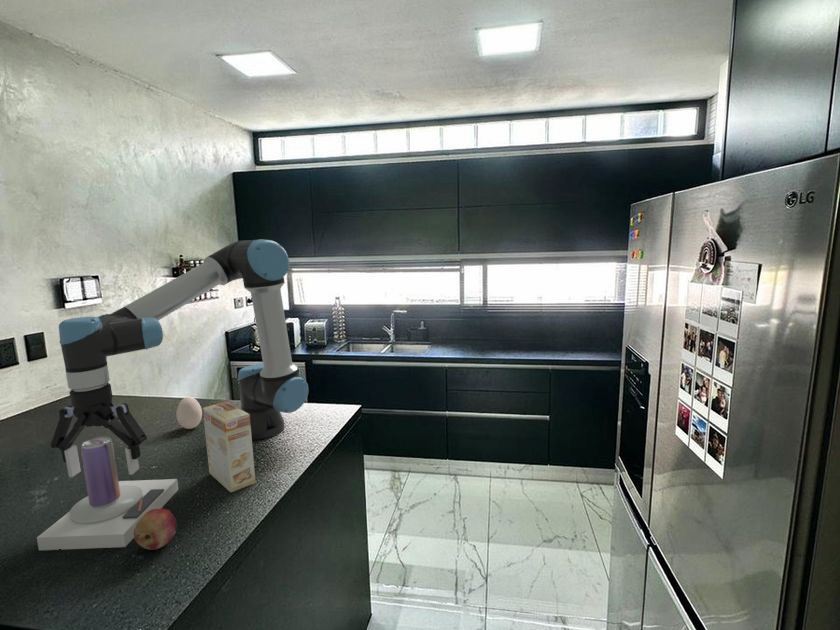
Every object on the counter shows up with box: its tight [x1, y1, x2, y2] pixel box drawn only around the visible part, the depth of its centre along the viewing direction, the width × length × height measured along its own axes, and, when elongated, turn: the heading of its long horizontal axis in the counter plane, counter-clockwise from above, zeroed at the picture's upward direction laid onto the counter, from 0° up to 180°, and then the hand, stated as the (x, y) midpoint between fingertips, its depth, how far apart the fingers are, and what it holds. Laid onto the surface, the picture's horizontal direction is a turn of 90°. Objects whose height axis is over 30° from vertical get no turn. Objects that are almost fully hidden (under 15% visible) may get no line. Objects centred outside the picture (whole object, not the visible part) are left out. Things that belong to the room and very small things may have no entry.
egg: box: [176, 396, 203, 430], centre depth 153 cm, size 8×8×11 cm
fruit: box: [133, 508, 178, 551], centre depth 92 cm, size 8×8×8 cm
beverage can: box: [80, 436, 120, 508], centre depth 102 cm, size 6×6×15 cm
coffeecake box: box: [202, 401, 257, 494], centre depth 118 cm, size 15×7×20 cm, turn 45°
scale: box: [36, 478, 179, 551], centre depth 103 cm, size 18×22×4 cm
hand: (104, 473), depth 102 cm, fingers open, 13 cm apart
